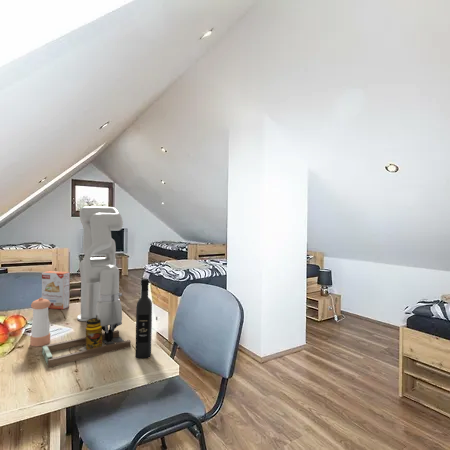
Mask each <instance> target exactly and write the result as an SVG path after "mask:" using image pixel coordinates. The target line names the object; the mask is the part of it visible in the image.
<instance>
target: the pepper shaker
mask: <svg viewBox="0 0 450 450" xmlns="http://www.w3.org/2000/svg"><path fill="white" fill-rule="evenodd" d="M30 306H31V309H32V322H31V328H30V329H31V331H30V332H31V335H30V336H29V337H30V339H29V340H30V341H29V342H30V343H29V344H30V346H31V347H42V346H45V345H49V344H51V333H50V329H51V328H50V327H51V326H50V319H49V318H50V317H49V308H48V307H49V306H50V301H49V300H47V299H43V298H42V297H39V298H38V299H35V300H33V301H32V302H31V304H30Z"/></svg>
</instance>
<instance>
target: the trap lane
mask: <svg viewBox="0 0 450 450" xmlns="http://www.w3.org/2000/svg"><path fill="white" fill-rule="evenodd" d="M102 343H104V345H105V346H101V347H97V348H92V349H88V350H84V351H82V350H79V351H76V352H73V353H67V354H63V355H59V356H54V357H53V354H52V353H53V352H58V351H61V350H65V349H69V348H74V347H78V346H83V345H86V336H83V337H79V338H75V339H70V340H65V341H60V342H55V343H49V344H46V345H43V346H41V354H42V356H43V358H44V359H43V360H44V361H45V362H46V364H47V368H52V367H56V366H60V365H65V364H69V363H72V362H76V361H79V360H80V361H81V360H83V359H88V358H91V357H96V356H99V355H104V354H107V353H111V352H116V351H120V350H124V349H127V348H131V347H132V346H131V344H132V343H131V339H127V340H124V339H122V337H120V331H119V330H118V329H117V330H114V331H113V338H112V341H111V342H107V341H106V340H105V332H102Z"/></svg>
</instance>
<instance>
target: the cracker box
mask: <svg viewBox="0 0 450 450" xmlns="http://www.w3.org/2000/svg"><path fill="white" fill-rule="evenodd" d="M70 275H71V273H70V271H57V270H47V271H43V272H41V298H43V299H47V300H49V301H50V306H49V307H48V309H53V310H65V309H67V308H69V307H70V284H71V283H70V280H71V276H70Z"/></svg>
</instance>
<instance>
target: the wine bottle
mask: <svg viewBox="0 0 450 450" xmlns="http://www.w3.org/2000/svg"><path fill="white" fill-rule="evenodd" d="M149 281H150V280H149V278H140V298H139V299H138V300H137V302H136V307H135V353H134V356H135V357H134V358H135V359H150V358H151V355H152V332H153V330H152V328H153V326H152V325H153V323H152V322H153V301H152V300H151V298H150V297H149V284H150V282H149Z"/></svg>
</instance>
